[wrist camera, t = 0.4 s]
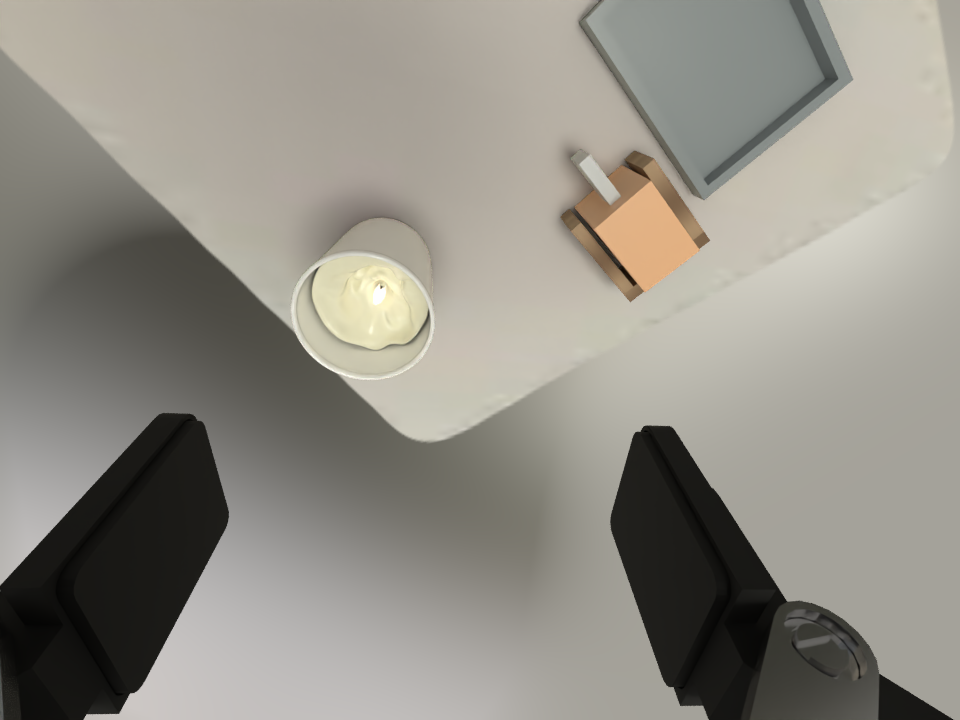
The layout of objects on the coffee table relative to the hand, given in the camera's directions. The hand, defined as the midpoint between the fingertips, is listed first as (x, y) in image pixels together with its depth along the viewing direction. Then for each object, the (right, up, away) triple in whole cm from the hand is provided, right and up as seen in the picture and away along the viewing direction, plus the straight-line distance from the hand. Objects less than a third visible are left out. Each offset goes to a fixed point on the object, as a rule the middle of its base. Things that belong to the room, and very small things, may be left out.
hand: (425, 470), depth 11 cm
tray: (+19, +26, +25) cm, 40 cm away
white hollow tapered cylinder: (-7, +11, +33) cm, 35 cm away
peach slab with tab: (+12, +16, +30) cm, 37 cm away
